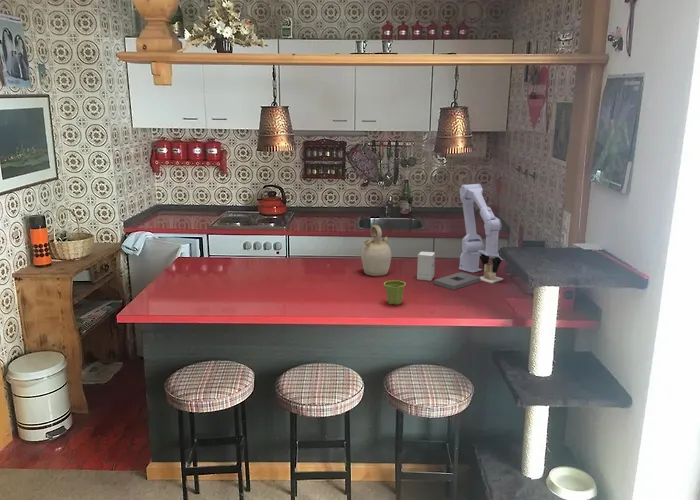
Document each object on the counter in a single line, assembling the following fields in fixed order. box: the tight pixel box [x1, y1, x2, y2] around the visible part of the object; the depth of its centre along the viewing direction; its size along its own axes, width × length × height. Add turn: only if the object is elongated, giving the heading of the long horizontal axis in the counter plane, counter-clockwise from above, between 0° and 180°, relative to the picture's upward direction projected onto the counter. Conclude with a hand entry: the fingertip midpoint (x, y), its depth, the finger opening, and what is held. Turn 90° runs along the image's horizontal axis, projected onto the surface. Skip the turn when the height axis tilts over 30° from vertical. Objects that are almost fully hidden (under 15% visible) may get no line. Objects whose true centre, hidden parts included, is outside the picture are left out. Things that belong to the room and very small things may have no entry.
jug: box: [360, 224, 392, 277], centre depth 297 cm, size 15×16×25 cm
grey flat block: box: [433, 271, 482, 291], centre depth 283 cm, size 12×20×2 cm, turn 130°
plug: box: [483, 262, 497, 280], centre depth 287 cm, size 4×4×7 cm
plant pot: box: [383, 280, 406, 305], centre depth 255 cm, size 9×9×9 cm
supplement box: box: [416, 251, 436, 282], centre depth 289 cm, size 7×7×13 cm
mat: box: [480, 275, 504, 284], centre depth 288 cm, size 9×9×1 cm
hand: (490, 271), depth 287 cm, fingers open, 5 cm apart
